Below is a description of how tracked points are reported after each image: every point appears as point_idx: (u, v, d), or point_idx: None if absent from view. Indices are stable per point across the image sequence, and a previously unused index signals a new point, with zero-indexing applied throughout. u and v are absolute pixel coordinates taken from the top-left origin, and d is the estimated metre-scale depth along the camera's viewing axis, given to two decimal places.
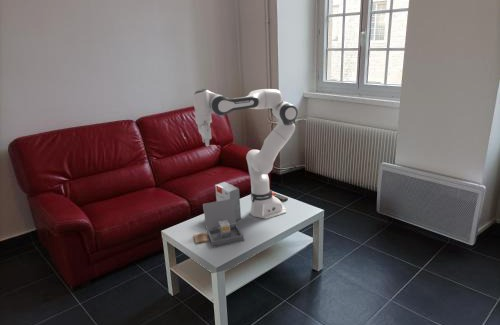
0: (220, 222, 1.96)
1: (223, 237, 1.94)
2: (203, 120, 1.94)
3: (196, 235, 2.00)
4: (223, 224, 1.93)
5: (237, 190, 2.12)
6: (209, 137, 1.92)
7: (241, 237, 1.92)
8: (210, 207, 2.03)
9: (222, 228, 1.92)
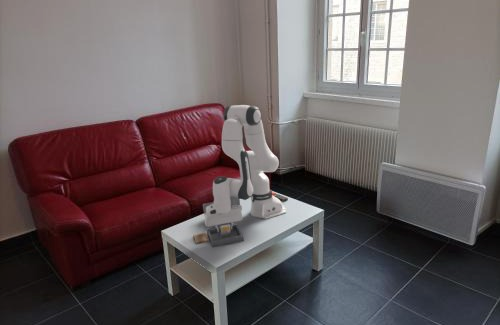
0: None
1: (223, 237, 1.94)
2: (230, 205, 1.92)
3: (196, 235, 2.00)
4: (223, 224, 1.93)
5: None
6: None
7: (241, 237, 1.92)
8: None
9: (222, 228, 1.92)
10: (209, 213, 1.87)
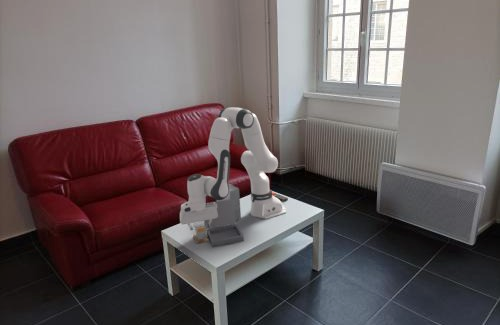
0: (196, 223, 1.96)
1: (199, 238, 1.94)
2: (206, 203, 1.92)
3: None
4: (199, 225, 1.93)
5: (237, 190, 2.12)
6: None
7: (241, 237, 1.92)
8: None
9: (197, 229, 1.92)
10: (183, 211, 1.87)
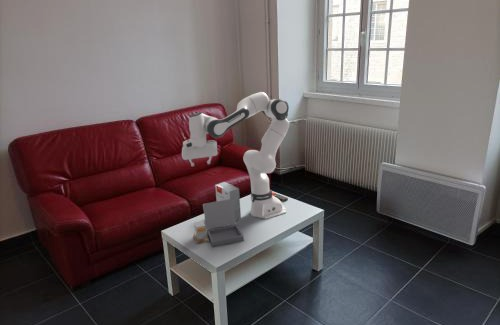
0: (196, 223, 1.96)
1: (199, 238, 1.94)
2: None
3: None
4: (199, 225, 1.93)
5: (237, 190, 2.12)
6: None
7: (241, 237, 1.92)
8: (210, 207, 2.03)
9: (197, 229, 1.92)
10: (185, 146, 2.00)
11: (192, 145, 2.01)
